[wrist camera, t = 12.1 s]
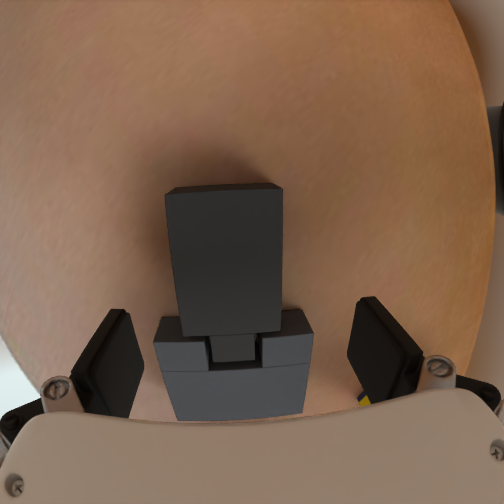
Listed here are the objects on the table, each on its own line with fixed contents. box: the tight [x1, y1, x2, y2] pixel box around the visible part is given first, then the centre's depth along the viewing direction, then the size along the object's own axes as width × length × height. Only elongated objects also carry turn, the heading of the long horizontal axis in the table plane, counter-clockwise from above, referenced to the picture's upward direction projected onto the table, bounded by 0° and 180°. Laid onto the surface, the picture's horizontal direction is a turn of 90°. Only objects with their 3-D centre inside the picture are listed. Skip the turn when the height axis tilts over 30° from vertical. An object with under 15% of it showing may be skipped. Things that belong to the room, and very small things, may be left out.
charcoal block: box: [153, 310, 314, 421], centre depth 23 cm, size 12×10×4 cm
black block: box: [165, 183, 283, 362], centre depth 20 cm, size 7×13×4 cm, turn 1°
